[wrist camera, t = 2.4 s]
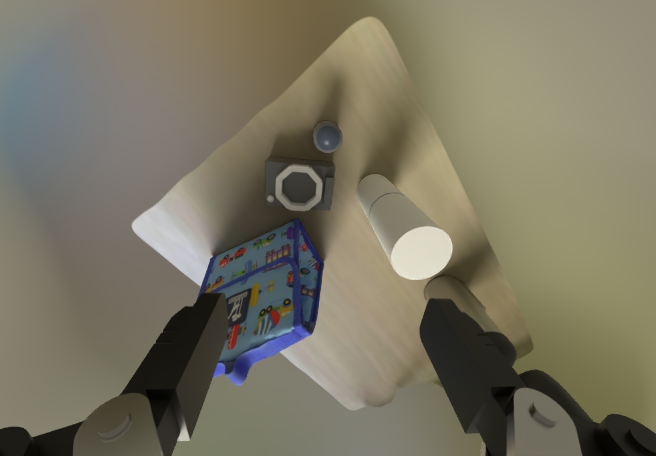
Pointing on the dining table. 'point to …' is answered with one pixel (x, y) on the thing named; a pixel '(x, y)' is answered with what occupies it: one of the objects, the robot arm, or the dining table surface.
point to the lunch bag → (265, 296)
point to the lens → (327, 136)
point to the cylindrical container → (403, 229)
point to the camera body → (298, 183)
